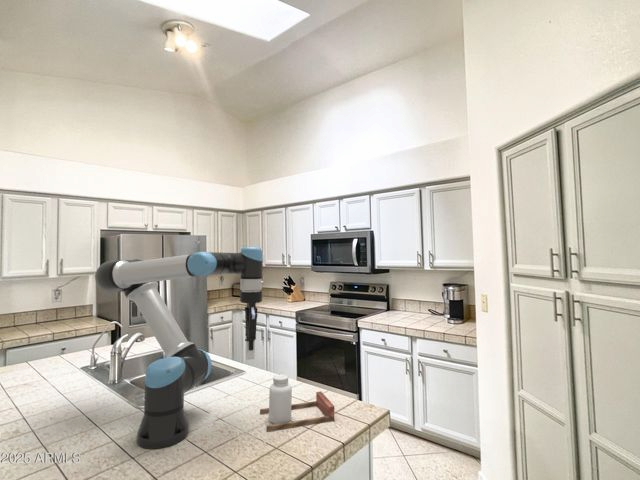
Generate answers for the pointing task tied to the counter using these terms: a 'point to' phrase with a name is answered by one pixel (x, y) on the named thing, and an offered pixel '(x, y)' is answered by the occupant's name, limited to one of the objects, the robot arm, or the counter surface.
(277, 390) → the pill bottle
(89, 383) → the counter surface
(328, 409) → the guide channel
